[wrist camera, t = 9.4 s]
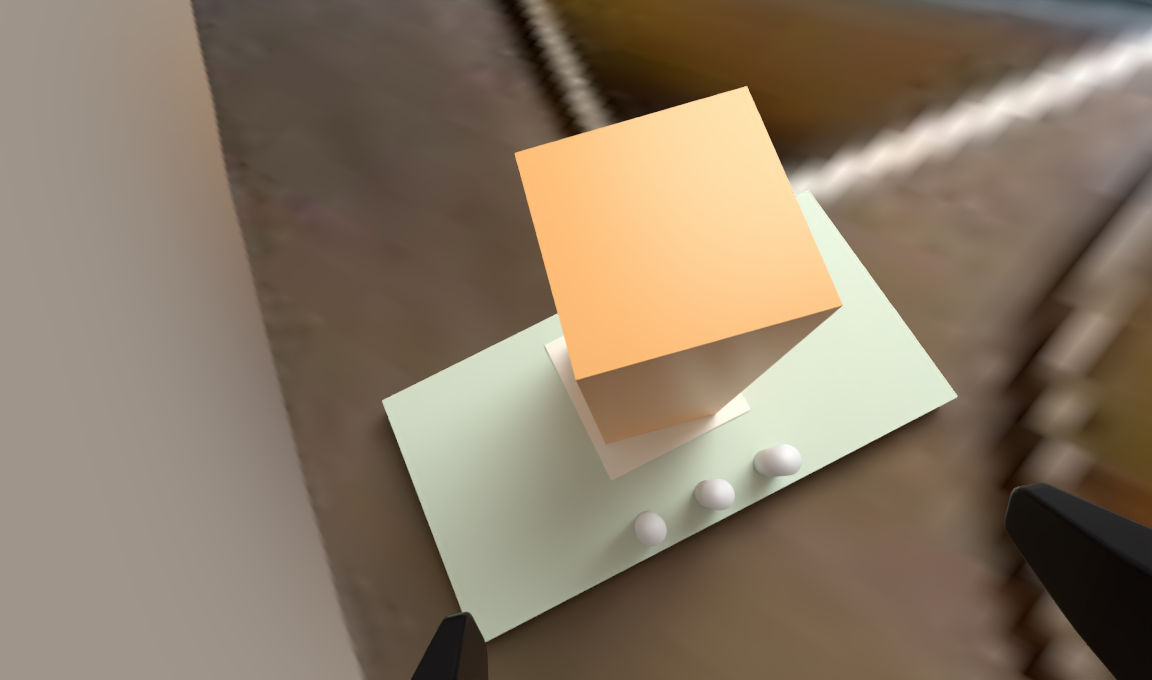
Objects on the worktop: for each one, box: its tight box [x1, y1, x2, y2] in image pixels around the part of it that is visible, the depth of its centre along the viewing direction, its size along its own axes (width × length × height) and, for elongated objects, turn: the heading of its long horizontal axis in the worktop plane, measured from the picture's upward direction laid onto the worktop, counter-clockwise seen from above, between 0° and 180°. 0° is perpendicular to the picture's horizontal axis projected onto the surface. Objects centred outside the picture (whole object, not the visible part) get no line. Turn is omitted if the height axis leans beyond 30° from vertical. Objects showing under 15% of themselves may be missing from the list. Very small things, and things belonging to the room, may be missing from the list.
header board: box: [382, 190, 958, 642], centre depth 20 cm, size 10×20×4 cm, turn 116°
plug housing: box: [515, 86, 843, 444], centre depth 15 cm, size 4×4×13 cm
